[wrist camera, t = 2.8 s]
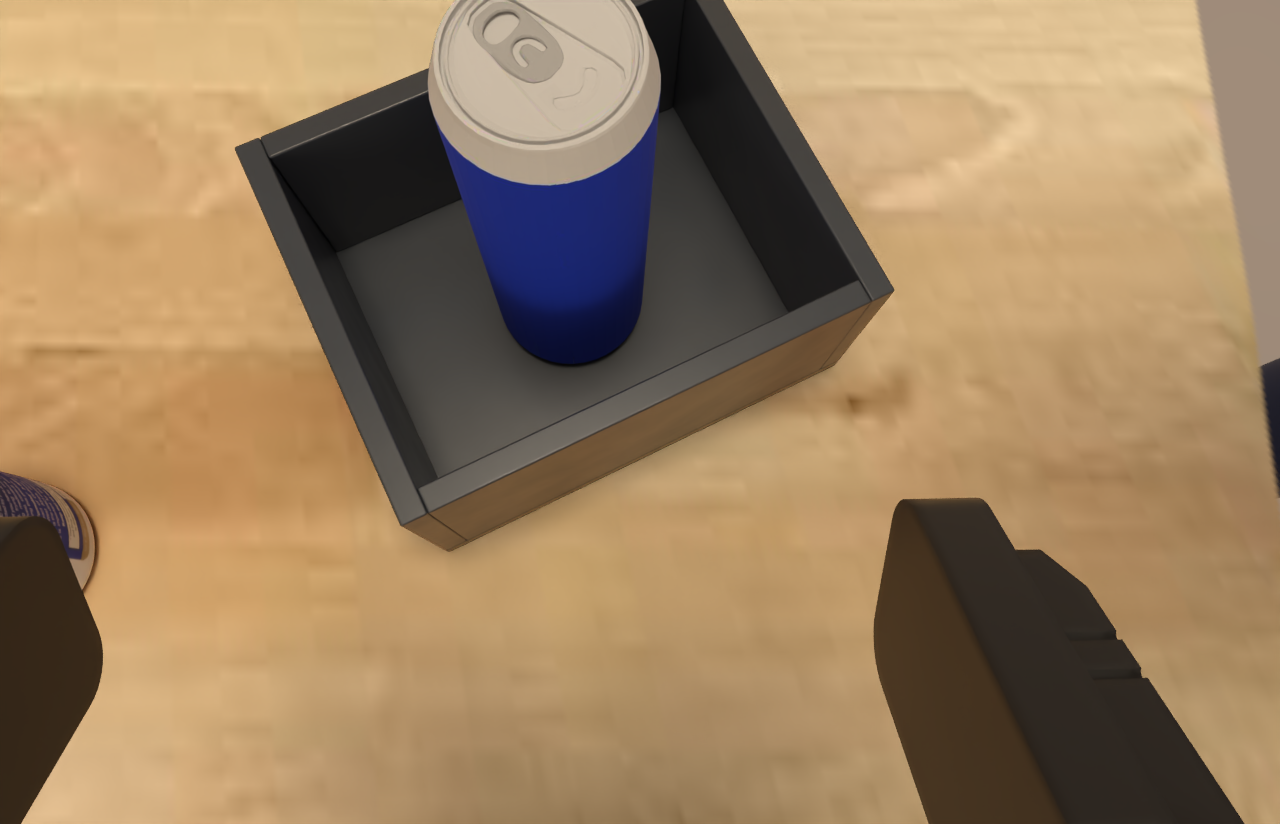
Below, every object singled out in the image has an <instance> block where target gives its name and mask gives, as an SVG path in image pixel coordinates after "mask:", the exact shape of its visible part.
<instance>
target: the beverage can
mask: <svg viewBox="0 0 1280 824" xmlns="http://www.w3.org/2000/svg"><path fill="white" fill-rule="evenodd" d="M428 92H429V101H430V104H431V108H432V111H433V115H434V118H435V121H436V124H437V127H438V130H439V133H440V136H441V139H442V141H443V144H444V147H445V150H446V153H447V156H448V159H449V162H450V165H451V168H452V171H453V174H454V177H455V180H456V182H457V185H458V188H459V191H460V194H461V197H462V200H463V203H464V206H465V209H466V212H467V215H468V218H469V221H470V223H471V226H472V229H473V232H474V235H475V238H476V241H477V244H478V247H479V250H480V253H481V256H482V259H483V262H484V264H485V267H486V270H487V273H488V276H489V279H490V282H491V285H492V288H493V291H494V294H495V297H496V300H497V303H498V305H499V308H500V311H501V314H502V317H503V320H504V322H505V324H506V326H507V328H508V330H509V331H510V333H511V334H512V336H513V337H514V338H515V339H516V340H517V342H518V343H519V344H520V345H521V346H523V347H524V348H525V349H527V350H528V351H529V352H531V353H532V354H534V355H536V356H538V357H540V358H543V359H546V360H549V361H552V362H557V363H564V364H576V363H584V362H588V361H592V360H596V359H598V358H600V357H602V356H605V355H607V354H608V353H610V352H611V351H613V350H614V349H616V348H617V347H618V346H619V345H620V344H621V343H623V342H624V341H625V339H626V338H627V337H628V336H629V334H630V333H631V332H632V330H633V328H634V326H635V325H636V323H637V320H638V317H639V315H640V311H641V306H642V298H643V286H644V275H645V263H646V252H647V241H648V229H649V218H650V206H651V195H652V183H653V172H654V161H655V149H656V138H657V126H658V115H659V104H660V92H661V73H660V67H659V61H658V57H657V54H656V51H655V48H654V46H653V43H652V41H651V39H650V37H649V35H648V32H647V30H646V28H645V25H644V23H643V20H642V18H641V16H640V14H639V13H638V11H637V9H636V7H635V6H634V4H633V3H632V2H631V0H455V1H454V2H453V3H452V5H451V6H450V7H449V9H448V10H447V12H446V13H445V15H444V17H443V19H442V21H441V23H440V25H439V27H438V30H437V34H436V37H435V41H434V45H433V51H432V56H431V60H430V65H429V73H428Z"/></svg>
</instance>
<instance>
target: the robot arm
mask: <svg viewBox="0 0 1280 824" xmlns="http://www.w3.org/2000/svg"><path fill="white" fill-rule="evenodd" d="M874 650H875V659H876V665H877V670H878V675H879V679H880V682H881V685H882V688H883V691H884V694H885V697H886V700H887V703H888V706H889V709H890V711H891V714H892V717H893V720H894V723H895V726H896V729H897V732H898V735H899V738H900V741H901V744H902V747H903V750H904V752H905V755H906V758H907V761H908V764H909V767H910V770H911V773H912V776H913V779H914V782H915V785H916V788H917V790H918V793H919V796H920V799H921V802H922V805H923V808H924V811H925V814H926V817H927V820H928V823H929V824H1244V822H1243V821H1242V819H1241V818H1240V816H1239V815H1238V813H1237V812H1236V810H1235V809H1234V807H1233V806H1232V804H1231V803H1230V801H1229V800H1228V798H1227V797H1226V795H1225V794H1224V792H1223V791H1222V789H1221V788H1220V786H1219V785H1218V783H1217V782H1216V780H1215V779H1214V777H1213V776H1212V774H1211V773H1210V771H1209V770H1208V768H1207V767H1206V765H1205V764H1204V762H1203V761H1202V759H1201V758H1200V756H1199V755H1198V753H1197V751H1196V750H1195V748H1194V747H1193V745H1192V744H1191V742H1190V741H1189V739H1188V738H1187V736H1186V735H1185V733H1184V732H1183V730H1182V729H1181V727H1180V726H1179V724H1178V723H1177V721H1176V720H1175V718H1174V717H1173V715H1172V714H1171V712H1170V711H1169V709H1168V708H1167V706H1166V705H1165V703H1164V702H1163V700H1162V699H1161V697H1160V696H1159V694H1158V693H1157V691H1156V690H1155V688H1154V687H1153V685H1152V684H1151V682H1150V681H1149V679H1148V678H1142V676H1141V667H1140V666H1139V664H1138V663H1137V661H1136V660H1135V658H1134V657H1133V655H1132V654H1131V652H1130V651H1129V649H1128V648H1127V646H1126V645H1125V643H1124V642H1123V640H1117V638H1116V630H1115V628H1114V627H1113V625H1112V624H1111V622H1110V621H1109V619H1108V618H1107V616H1106V615H1105V613H1104V612H1103V610H1102V609H1101V607H1100V606H1099V604H1098V603H1097V601H1096V600H1095V598H1094V597H1093V595H1092V594H1091V592H1090V591H1089V589H1088V588H1087V586H1086V585H1084V584H1083V583H1082V582H1081V581H1079V580H1078V579H1077V578H1076V577H1074V576H1073V575H1072V574H1070V573H1069V572H1068V571H1067V570H1065V569H1064V568H1063V567H1062V566H1060V565H1059V564H1058V563H1057V562H1055V561H1054V560H1053V559H1052V558H1050V557H1049V556H1048V555H1046V554H1045V553H1044V552H1043V551H1041V550H1015V549H1014V547H1013V545H1012V544H1011V542H1010V540H1009V539H1008V537H1007V535H1006V534H1005V532H1004V530H1003V528H1002V527H1001V525H1000V523H999V522H998V520H997V518H996V517H995V515H994V513H993V512H992V510H991V508H990V507H989V506H988V504H987V503H986V502H985V501H984V500H982V499H980V498H946V499H903V500H901V501H900V502H899V503H898V504H897V506H896V508H895V511H894V514H893V518H892V523H891V529H890V534H889V540H888V545H887V551H886V556H885V562H884V568H883V573H882V579H881V584H880V590H879V595H878V601H877V606H876V612H875V619H874ZM102 665H103V650H102V642H101V637H100V634H99V631H98V629H97V626H96V624H95V621H94V619H93V616H92V614H91V611H90V609H89V606H88V604H87V602H86V599H85V597H84V594H83V592H82V589H81V587H80V584H79V582H78V579H77V577H76V574H75V572H74V569H73V567H72V564H71V562H70V559H69V557H68V555H67V552H66V550H65V547H64V545H63V542H62V540H61V537H60V535H59V533H58V531H57V529H56V528H55V527H54V525H53V524H52V523H51V522H50V521H48V520H47V519H45V518H43V517H39V516H18V517H0V824H21V823H22V821H23V819H24V817H25V816H26V814H27V812H28V811H29V809H30V807H31V806H32V804H33V802H34V800H35V799H36V797H37V795H38V794H39V792H40V790H41V789H42V787H43V785H44V783H45V782H46V780H47V778H48V777H49V775H50V773H51V772H52V770H53V768H54V766H55V765H56V763H57V761H58V760H59V758H60V756H61V754H62V753H63V751H64V749H65V748H66V746H67V744H68V743H69V741H70V739H71V737H72V736H73V734H74V732H75V731H76V729H77V727H78V726H79V724H80V722H81V720H82V719H83V717H84V715H85V714H86V712H87V710H88V709H89V707H90V705H91V703H92V701H93V699H94V697H95V695H96V692H97V690H98V686H99V683H100V678H101V673H102Z"/></svg>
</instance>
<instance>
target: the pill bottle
mask: <svg viewBox="0 0 1280 824" xmlns="http://www.w3.org/2000/svg"><path fill="white" fill-rule="evenodd" d="M18 516H39V517H43V518H45V519H47V520H48V521H50V522H51V523H52V524H53V525H54V527H55V528H56V529H57V531H58V533H59V535H60V537H61V540H62V542H63V545H64V547H65V550H66V552H67V555H68V557H69V559H70V562H71V564H72V567H73V569H74V572H75V574H76V577H77V579H78V582H79V584H80V587H81V589H83V588H84V586H85V584H86V582H87V580H88V578H89V575H90V572H91V569H92V566H93V561H94V554H95V543H94V535H93V530H92V527H91V524H90V521H89V519H88V517H87V515H86V513H85V512H84V510H83V509H82V508H81V506H80V505H79V504H78V503H77V502H76V501H75V500H74V499H73V498H72V497H71V496H69V495H68V494H67V493H65V492H64V491H62V490H60V489H58V488H56V487H54V486H52V485H49V484H46V483H42V482H39V481H35V480H32V479H28V478H24V477H20V476H16V475H12V474H8V473H4V472H0V517H18Z"/></svg>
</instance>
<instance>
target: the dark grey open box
mask: <svg viewBox="0 0 1280 824" xmlns="http://www.w3.org/2000/svg"><path fill="white" fill-rule="evenodd" d="M631 2H632V3H633V4H634V6H635V7H636V9H637V11H638V13H639V14H640V16H641V18H642V20H643V23H644V25H645V28H646V30H647V32H648V35H649V37H650V39H651V41H652V43H653V46H654V48H655V51H656V54H657V57H658V61H659V67H660V73H661V92H660V104H659V115H658V126H657V138H656V149H655V161H654V172H653V183H652V195H651V206H650V218H649V229H648V241H647V252H646V263H645V275H644V286H643V298H642V306H641V311H640V315H639V317H638V320H637V323H636V325H635V326H634V328H633V330H632V332H631V333H630V334H629V336H628V337H627V338H626V339H625V341H624V342H623V343H621V344H620V345H619V346H618V347H617V348H616V349H614V350H613V351H611V352H610V353H608V354H607V355H605V356H602V357H600V358H598V359H596V360H592V361H588V362H584V363H576V364H564V363H557V362H552V361H549V360H546V359H543V358H540V357H538V356H536V355H534V354H532V353H531V352H529V351H528V350H527V349H525V348H524V347H523V346H521V345H520V344H519V343H518V342H517V340H516V339H515V338H514V337H513V336H512V334H511V333H510V331H509V330H508V328H507V326H506V324H505V322H504V320H503V317H502V314H501V311H500V308H499V305H498V303H497V300H496V297H495V294H494V291H493V288H492V285H491V282H490V279H489V276H488V273H487V270H486V267H485V264H484V262H483V259H482V256H481V253H480V250H479V247H478V244H477V241H476V238H475V235H474V232H473V229H472V226H471V223H470V221H469V218H468V215H467V212H466V209H465V206H464V203H463V200H462V197H461V194H460V191H459V188H458V185H457V182H456V180H455V177H454V174H453V171H452V168H451V165H450V162H449V159H448V156H447V153H446V150H445V147H444V144H443V141H442V139H441V136H440V133H439V130H438V127H437V124H436V121H435V118H434V115H433V111H432V108H431V104H430V101H429V92H428V73H429V68H428V69H425V70H423V71H420V72H418V73H416V74H413V75H411V76H408V77H406V78H403V79H401V80H398V81H396V82H394V83H391V84H389V85H386V86H384V87H381V88H379V89H377V90H374V91H372V92H369V93H367V94H364V95H362V96H359V97H357V98H355V99H352V100H350V101H347V102H345V103H342V104H340V105H337V106H335V107H333V108H330V109H328V110H325V111H323V112H320V113H318V114H316V115H313V116H311V117H308V118H306V119H303V120H301V121H298V122H296V123H294V124H291V125H289V126H286V127H284V128H281V129H279V130H276V131H274V132H272V133H269V134H267V135H264V136H262V137H261V139H259V138H256V139H254V140H252V141H249V142H247V143H244V144H242V145H239V146H237V147H235V151H236V153H237V155H238V158H239V160H240V162H241V165H242V167H243V169H244V171H245V174H246V176H247V178H248V180H249V183H250V185H251V187H252V190H253V192H254V194H255V196H256V199H257V201H258V203H259V205H260V208H261V210H262V212H263V215H264V217H265V219H266V221H267V224H268V226H269V228H270V230H271V233H272V235H273V237H274V240H275V242H276V244H277V246H278V249H279V251H280V253H281V255H282V258H283V260H284V262H285V264H286V267H287V269H288V271H289V274H290V276H291V278H292V280H293V283H294V285H295V287H296V289H297V292H298V294H299V296H300V299H301V301H302V303H303V305H304V308H305V310H306V312H307V314H308V317H309V319H310V321H311V324H312V326H313V328H314V330H315V333H316V335H317V337H318V339H319V342H320V344H321V346H322V349H323V351H324V353H325V355H326V358H327V360H328V362H329V364H330V367H331V369H332V371H333V374H334V376H335V378H336V380H337V383H338V385H339V387H340V389H341V392H342V394H343V396H344V398H345V401H346V403H347V405H348V408H349V410H350V412H351V414H352V417H353V419H354V421H355V423H356V426H357V428H358V430H359V433H360V435H361V437H362V439H363V442H364V444H365V446H366V448H367V451H368V453H369V455H370V458H371V460H372V462H373V464H374V467H375V469H376V471H377V473H378V476H379V478H380V480H381V483H382V485H383V487H384V489H385V492H386V494H387V496H388V498H389V501H390V503H391V505H392V508H393V510H394V512H395V514H396V517H397V519H398V521H399V523H400V525H401V526H402V527H404V528H406V529H408V530H409V531H411V532H413V533H415V534H417V535H419V536H420V537H422V538H424V539H426V540H428V541H430V542H431V543H433V544H435V545H437V546H439V547H441V548H442V549H444V550H446V551H448V552H450V551H452V550H454V549H456V548H458V547H460V546H462V545H464V544H467V543H469V542H471V541H473V540H475V539H477V538H479V537H481V536H483V535H485V534H487V533H489V532H491V531H493V530H495V529H497V528H500V527H502V526H504V525H506V524H508V523H510V522H512V521H514V520H516V519H518V518H520V517H522V516H524V515H526V514H528V513H530V512H532V511H535V510H537V509H539V508H541V507H543V506H545V505H547V504H549V503H551V502H553V501H555V500H557V499H559V498H561V497H563V496H565V495H568V494H570V493H572V492H574V491H576V490H578V489H580V488H582V487H584V486H586V485H588V484H590V483H592V482H594V481H596V480H598V479H601V478H603V477H605V476H607V475H609V474H611V473H613V472H615V471H617V470H619V469H621V468H623V467H625V466H627V465H629V464H631V463H633V462H636V461H638V460H640V459H642V458H644V457H646V456H648V455H650V454H652V453H654V452H656V451H658V450H660V449H662V448H664V447H666V446H669V445H671V444H673V443H675V442H677V441H679V440H681V439H683V438H685V437H687V436H689V435H691V434H693V433H695V432H697V431H699V430H702V429H704V428H706V427H708V426H710V425H712V424H714V423H716V422H718V421H720V420H722V419H724V418H726V417H728V416H730V415H732V414H734V413H737V412H739V411H741V410H743V409H745V408H747V407H749V406H751V405H753V404H755V403H757V402H759V401H761V400H763V399H765V398H767V397H770V396H772V395H774V394H776V393H778V392H780V391H782V390H784V389H786V388H788V387H790V386H792V385H794V384H796V383H798V382H800V381H803V380H805V379H807V378H809V377H811V376H813V375H815V374H817V373H819V372H821V371H823V370H825V369H827V368H829V367H831V366H833V365H835V364H836V362H837V361H838V360H839V359H840V357H841V356H842V355H843V354H844V353H845V351H846V350H847V349H848V348H849V346H850V345H851V344H852V343H853V341H854V340H855V339H856V338H857V336H858V335H859V334H860V333H861V331H862V330H863V329H864V328H865V326H866V325H867V324H868V323H869V322H870V320H871V319H872V318H873V317H874V315H875V314H876V313H877V312H878V310H879V309H880V308H881V307H882V305H883V304H884V303H885V302H886V300H887V299H888V298H889V297H890V296H891V294H892V293H893V292H894V288H893V286H892V285H891V283H890V281H889V280H888V278H887V276H886V275H885V273H884V271H883V269H882V268H881V266H880V264H879V263H878V261H877V259H876V258H875V256H874V254H873V253H872V251H871V249H870V248H869V246H868V244H867V242H866V241H865V239H864V237H863V236H862V234H861V232H860V231H859V229H858V227H857V226H856V224H855V222H854V220H853V219H852V217H851V215H850V214H849V212H848V210H847V209H846V207H845V205H844V204H843V202H842V200H841V199H840V197H839V195H838V193H837V192H836V190H835V188H834V187H833V185H832V183H831V182H830V180H829V178H828V177H827V175H826V173H825V171H824V170H823V168H822V166H821V165H820V163H819V161H818V160H817V158H816V156H815V155H814V153H813V151H812V150H811V148H810V146H809V144H808V143H807V141H806V139H805V138H804V136H803V134H802V133H801V131H800V129H799V128H798V126H797V124H796V122H795V121H794V119H793V117H792V116H791V114H790V112H789V111H788V109H787V107H786V106H785V104H784V102H783V101H782V99H781V97H780V95H779V94H778V92H777V90H776V89H775V87H774V85H773V84H772V82H771V80H770V79H769V77H768V75H767V73H766V72H765V70H764V68H763V67H762V65H761V63H760V62H759V60H758V58H757V57H756V55H755V53H754V52H753V50H752V48H751V46H750V45H749V43H748V41H747V40H746V38H745V36H744V35H743V33H742V31H741V30H740V28H739V26H738V24H737V23H736V21H735V19H734V18H733V16H732V14H731V13H730V11H729V9H728V8H727V6H726V4H725V2H724V1H723V0H631Z"/></svg>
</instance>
